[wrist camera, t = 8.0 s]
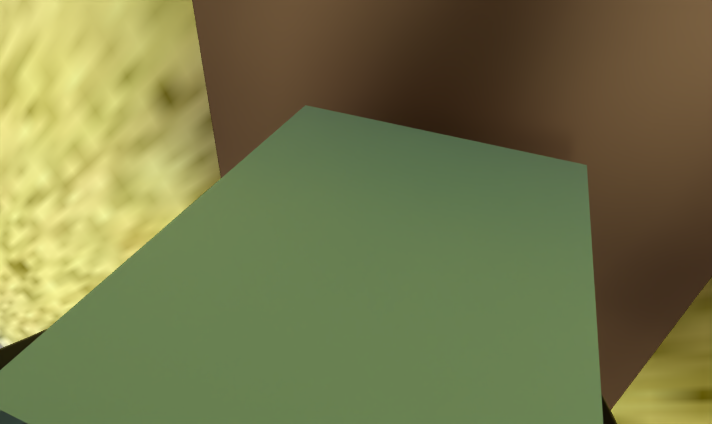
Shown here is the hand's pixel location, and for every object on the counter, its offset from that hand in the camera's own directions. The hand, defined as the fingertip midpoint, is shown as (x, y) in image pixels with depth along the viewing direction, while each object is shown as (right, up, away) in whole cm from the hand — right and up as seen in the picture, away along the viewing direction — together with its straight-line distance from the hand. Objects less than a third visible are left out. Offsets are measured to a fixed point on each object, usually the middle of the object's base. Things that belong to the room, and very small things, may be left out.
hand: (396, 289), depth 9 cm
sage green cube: (0, +1, +1) cm, 2 cm away
